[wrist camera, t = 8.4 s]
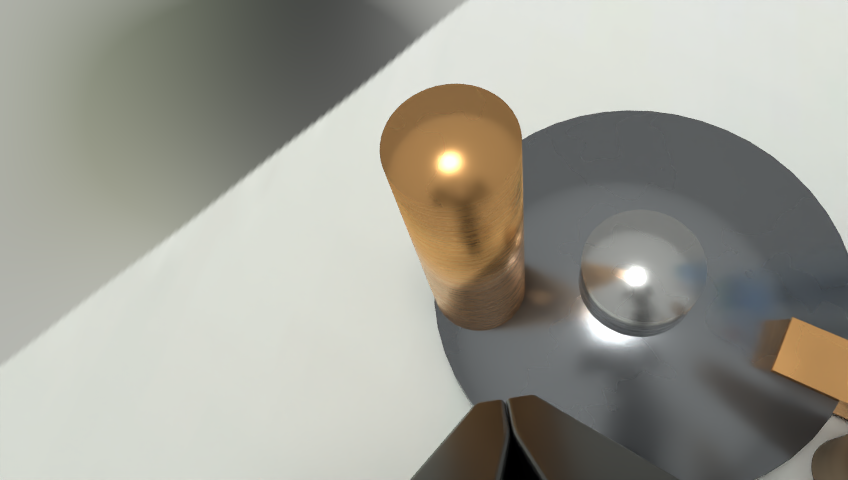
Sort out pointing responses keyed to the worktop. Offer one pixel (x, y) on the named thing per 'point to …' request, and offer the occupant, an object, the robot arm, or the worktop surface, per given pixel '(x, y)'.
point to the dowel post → (831, 460)
